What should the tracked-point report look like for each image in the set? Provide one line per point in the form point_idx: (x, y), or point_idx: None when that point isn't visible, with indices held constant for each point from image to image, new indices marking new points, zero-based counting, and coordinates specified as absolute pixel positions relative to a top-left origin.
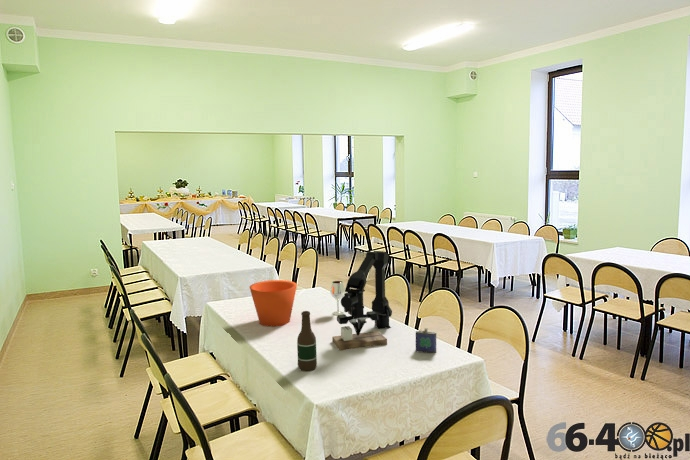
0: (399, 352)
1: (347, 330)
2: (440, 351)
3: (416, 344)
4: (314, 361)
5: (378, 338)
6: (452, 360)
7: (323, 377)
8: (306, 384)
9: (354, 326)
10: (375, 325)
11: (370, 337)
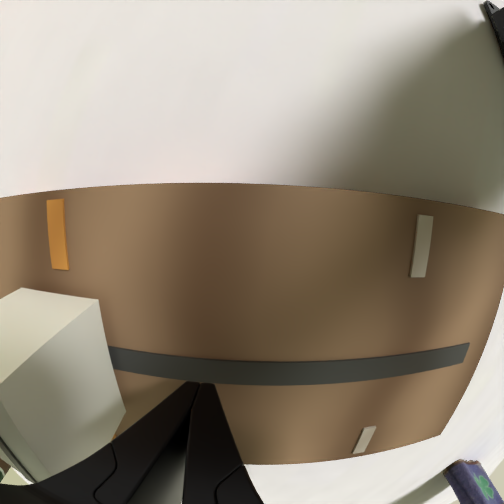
0: (385, 487)
1: (29, 473)
2: (484, 460)
3: (454, 491)
4: (7, 469)
5: (405, 423)
6: (446, 500)
7: None
8: (31, 482)
9: (101, 487)
10: (497, 23)
11: (362, 395)
